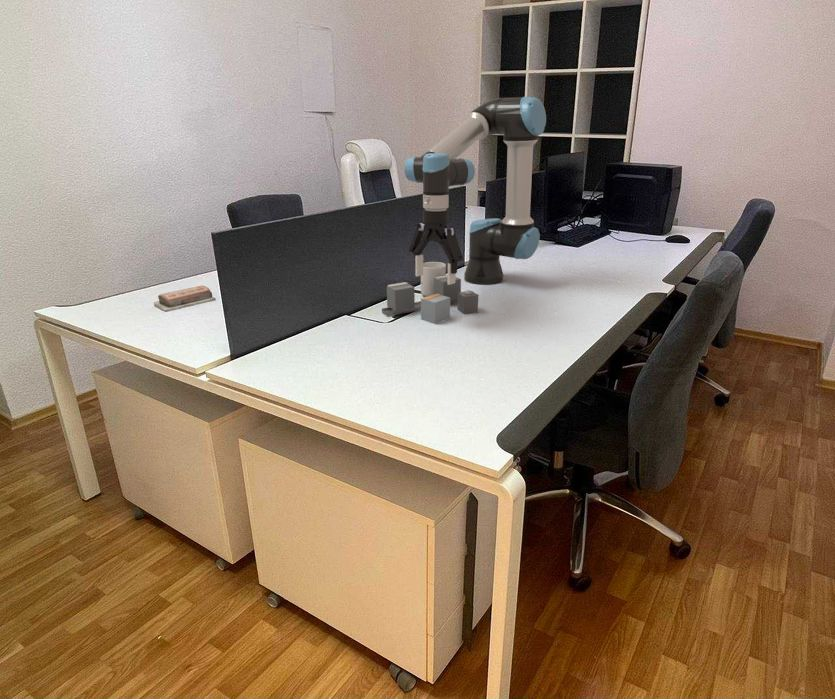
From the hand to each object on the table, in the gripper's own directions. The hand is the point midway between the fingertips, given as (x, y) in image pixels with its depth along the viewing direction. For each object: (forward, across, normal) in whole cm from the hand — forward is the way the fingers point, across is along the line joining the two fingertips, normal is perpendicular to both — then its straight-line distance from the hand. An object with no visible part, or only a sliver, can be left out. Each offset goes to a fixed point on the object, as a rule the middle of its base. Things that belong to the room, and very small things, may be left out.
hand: (434, 279), depth 172 cm
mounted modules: (+11, -11, +6) cm, 17 cm away
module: (+13, 0, 0) cm, 13 cm away
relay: (+13, +2, +13) cm, 19 cm away
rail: (+13, -11, +6) cm, 18 cm away
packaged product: (+14, -75, -48) cm, 90 cm away
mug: (+13, -19, +19) cm, 30 cm away
